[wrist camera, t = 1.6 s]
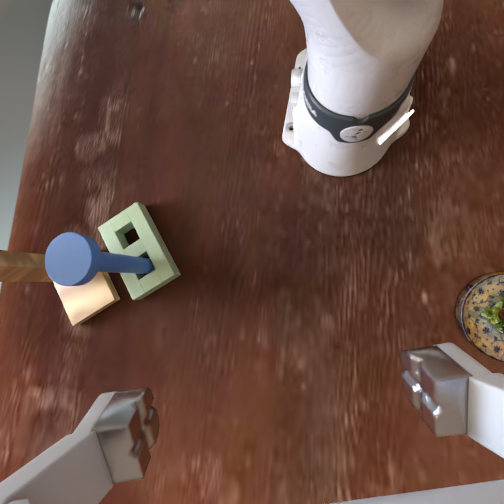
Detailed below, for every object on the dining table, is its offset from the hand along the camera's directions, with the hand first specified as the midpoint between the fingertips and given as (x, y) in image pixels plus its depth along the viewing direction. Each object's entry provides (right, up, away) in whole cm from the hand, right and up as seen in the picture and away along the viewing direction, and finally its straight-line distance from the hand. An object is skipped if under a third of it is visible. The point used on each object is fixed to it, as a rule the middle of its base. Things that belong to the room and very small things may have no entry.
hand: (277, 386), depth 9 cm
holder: (-19, +4, +41) cm, 45 cm away
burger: (+33, -4, +30) cm, 45 cm away
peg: (-18, +2, +40) cm, 44 cm away
